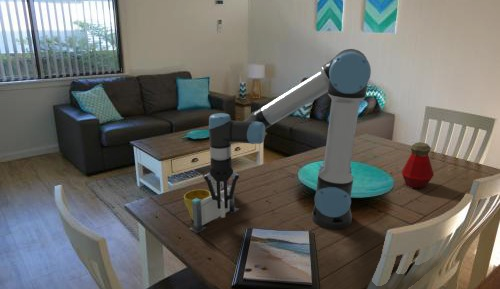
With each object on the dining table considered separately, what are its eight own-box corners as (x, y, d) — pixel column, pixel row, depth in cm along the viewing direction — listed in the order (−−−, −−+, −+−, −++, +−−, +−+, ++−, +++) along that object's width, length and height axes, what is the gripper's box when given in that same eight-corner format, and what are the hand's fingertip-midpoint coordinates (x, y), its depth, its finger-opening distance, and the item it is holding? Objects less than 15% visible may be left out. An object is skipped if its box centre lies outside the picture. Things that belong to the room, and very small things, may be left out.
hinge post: (239, 209, 157) (239, 191, 155) (232, 213, 154) (231, 194, 151) (231, 206, 160) (230, 188, 157) (224, 210, 157) (223, 191, 154)
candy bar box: (218, 191, 174) (217, 157, 169) (229, 192, 173) (228, 157, 168) (211, 202, 164) (209, 166, 159) (222, 203, 163) (221, 167, 158)
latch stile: (206, 228, 143) (204, 199, 140) (197, 233, 140) (196, 203, 136) (197, 224, 146) (196, 196, 142) (189, 229, 143) (187, 200, 139)
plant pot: (190, 226, 144) (188, 202, 141) (183, 215, 153) (180, 192, 150) (216, 219, 148) (214, 195, 146) (207, 209, 157) (205, 187, 155)
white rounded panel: (231, 206, 158) (231, 184, 155) (236, 208, 157) (235, 186, 154) (198, 223, 145) (197, 200, 142) (203, 226, 143) (202, 202, 140)
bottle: (422, 194, 171) (428, 151, 164) (393, 185, 180) (398, 144, 174) (437, 185, 180) (444, 144, 174) (410, 176, 190) (415, 137, 184)
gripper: (238, 152, 142) (240, 210, 149) (203, 153, 141) (206, 211, 149) (239, 159, 135) (240, 220, 142) (201, 160, 134) (205, 221, 141)
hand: (223, 215), depth 145 cm, fingers closed
